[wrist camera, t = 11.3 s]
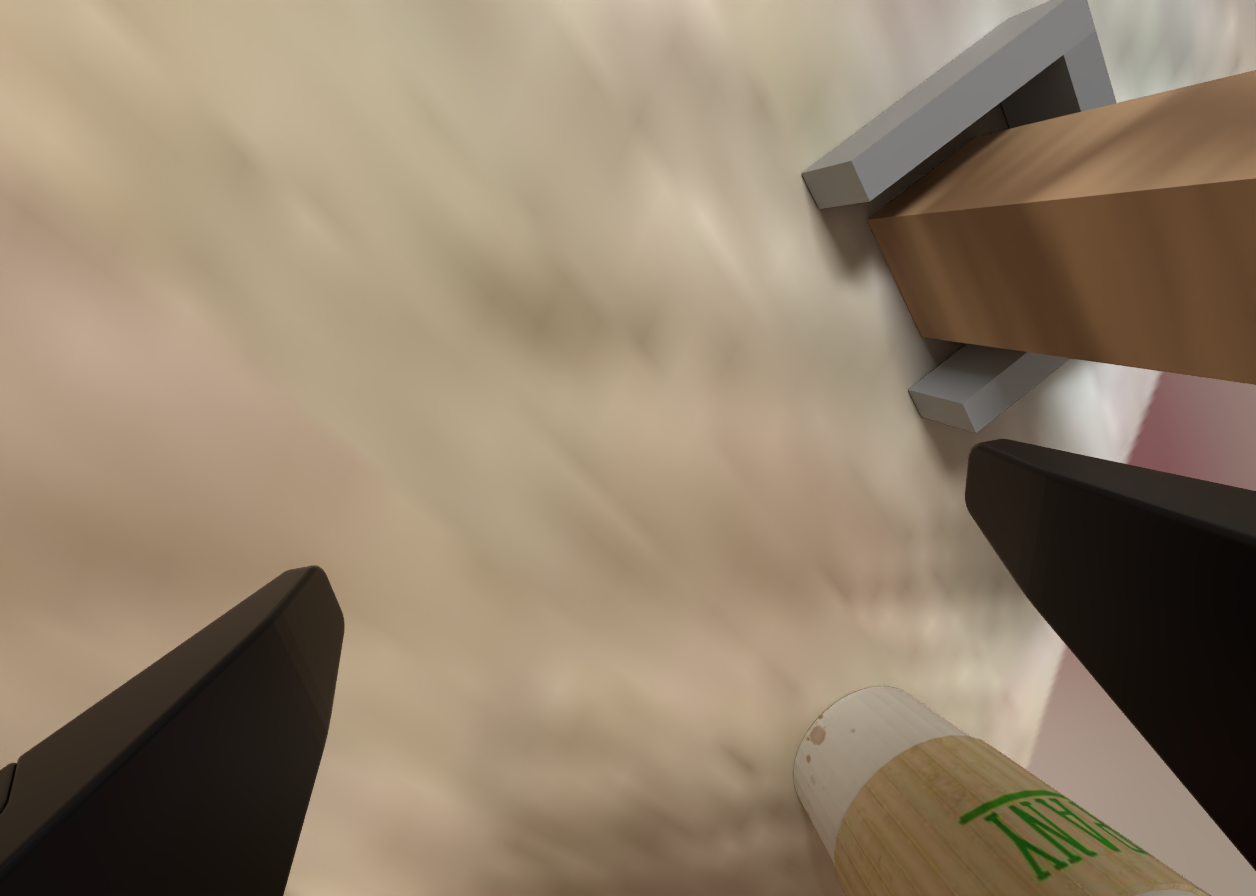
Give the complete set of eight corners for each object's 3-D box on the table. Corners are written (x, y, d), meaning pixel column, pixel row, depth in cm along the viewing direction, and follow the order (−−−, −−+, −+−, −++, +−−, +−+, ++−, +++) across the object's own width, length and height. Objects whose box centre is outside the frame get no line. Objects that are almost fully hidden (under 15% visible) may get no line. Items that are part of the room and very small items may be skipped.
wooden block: (921, 337, 22) (1499, 419, 10) (866, 219, 21) (1481, 153, 9) (1021, 258, 23) (1696, 248, 11) (975, 137, 21) (1714, -40, 9)
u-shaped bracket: (921, 416, 23) (976, 433, 21) (801, 173, 20) (851, 160, 17) (1094, 278, 24) (1166, 280, 21) (1008, 18, 20) (1083, -14, 18)
